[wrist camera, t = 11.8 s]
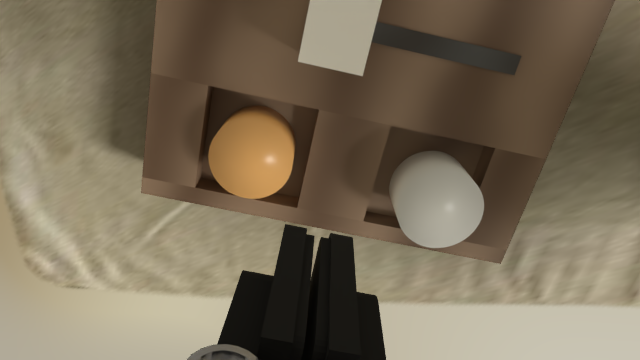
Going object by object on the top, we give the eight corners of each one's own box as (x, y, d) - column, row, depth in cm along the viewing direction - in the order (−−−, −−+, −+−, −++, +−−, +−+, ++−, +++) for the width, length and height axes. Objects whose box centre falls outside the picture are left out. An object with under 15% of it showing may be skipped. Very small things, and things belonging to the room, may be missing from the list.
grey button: (477, 159, 26) (496, 180, 23) (452, 228, 27) (467, 254, 24) (401, 143, 25) (411, 162, 22) (380, 213, 27) (387, 239, 24)
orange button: (302, 114, 26) (300, 129, 23) (287, 184, 28) (284, 205, 25) (225, 98, 26) (214, 111, 23) (215, 169, 27) (203, 189, 25)
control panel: (577, -11, 26) (620, -11, 22) (480, 232, 32) (501, 264, 28) (190, -108, 24) (166, -126, 21) (162, 168, 30) (140, 193, 27)
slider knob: (376, -8, 22) (383, -8, 20) (357, 66, 24) (362, 76, 21) (315, -23, 22) (314, -25, 19) (300, 53, 23) (297, 61, 21)
